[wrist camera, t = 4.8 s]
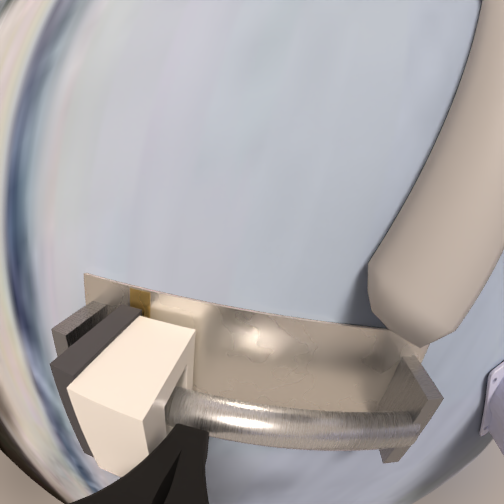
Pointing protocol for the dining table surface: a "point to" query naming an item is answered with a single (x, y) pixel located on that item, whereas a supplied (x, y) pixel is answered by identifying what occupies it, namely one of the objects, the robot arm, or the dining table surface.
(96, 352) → the dark gray slab
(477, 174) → the tube
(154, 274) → the dining table surface
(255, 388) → the rod rig
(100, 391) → the sleeve
